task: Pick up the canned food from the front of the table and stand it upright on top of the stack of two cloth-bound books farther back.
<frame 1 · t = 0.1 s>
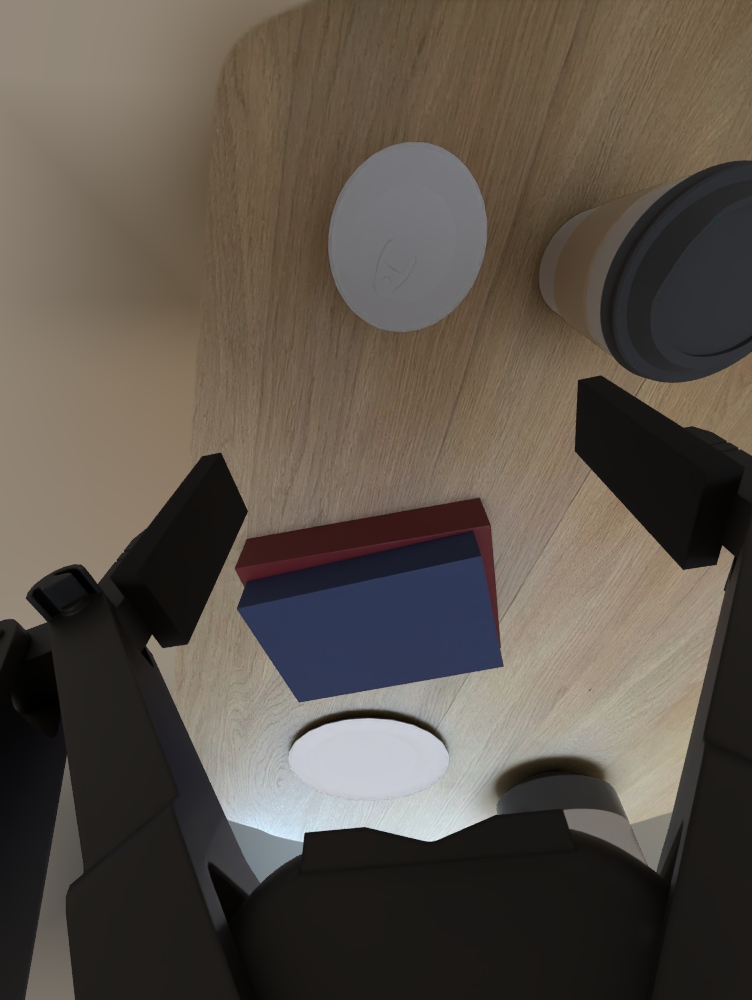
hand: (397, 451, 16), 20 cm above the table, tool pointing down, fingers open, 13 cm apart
book stack: (377, 580, 47), on the table
plate: (368, 752, 67), on the table
planter: (548, 781, 72), on the table
coffee cup: (585, 265, 30), on the table
canned food: (397, 242, 30), on the table
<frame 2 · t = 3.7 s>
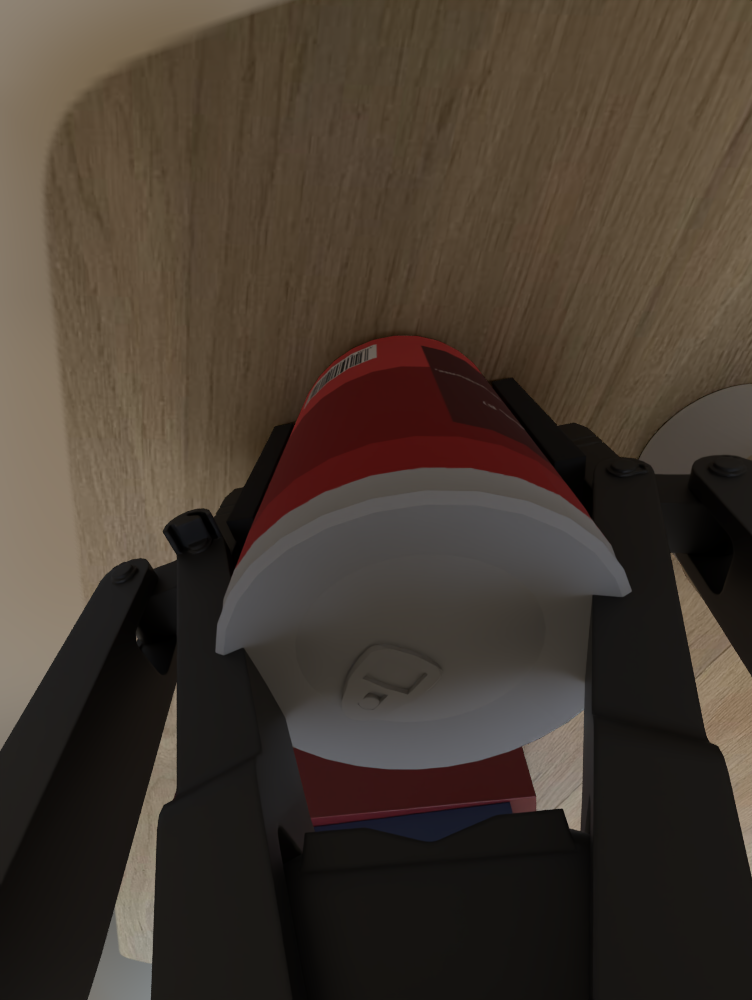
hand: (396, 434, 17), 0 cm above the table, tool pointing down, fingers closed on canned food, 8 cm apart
book stack: (369, 795, 34), on the table
coffee cup: (712, 461, 18), on the table
canned food: (395, 430, 17), on the table, touching gripper
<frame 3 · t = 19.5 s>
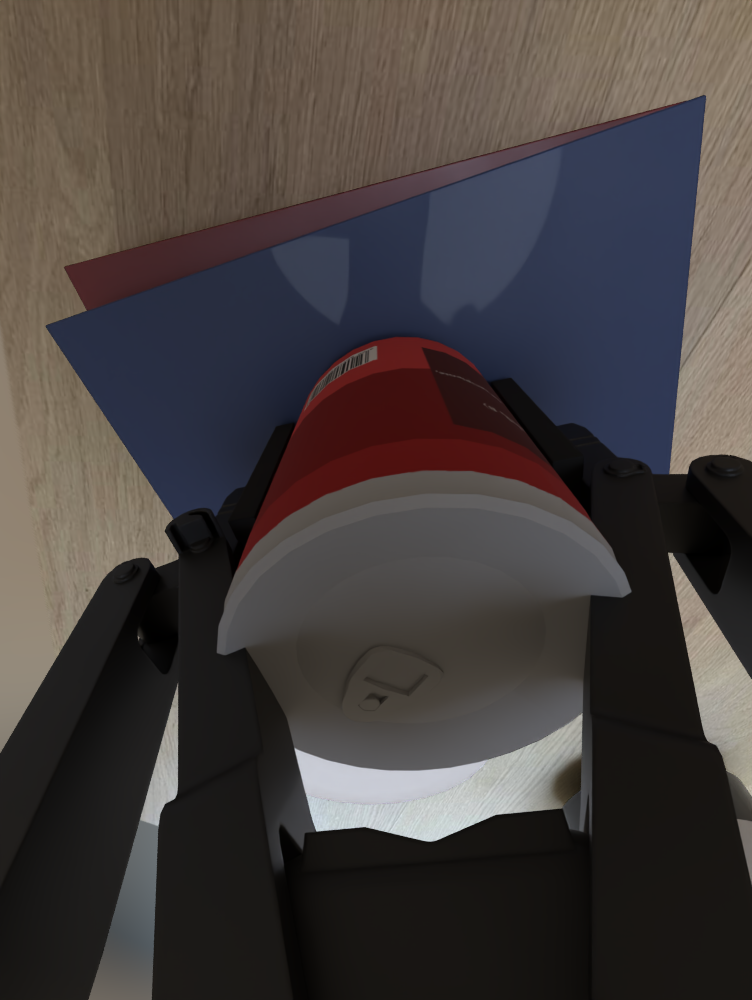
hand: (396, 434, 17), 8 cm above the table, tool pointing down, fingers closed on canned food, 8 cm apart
book stack: (389, 377, 24), on the table
plate: (371, 731, 44), on the table
planter: (633, 776, 49), on the table
canned food: (396, 431, 17), point 8 cm above the table, touching gripper
when the fingers open (10 cm above the table, at t = 21.5 s): canned food drops 2 cm, resting on book stack.
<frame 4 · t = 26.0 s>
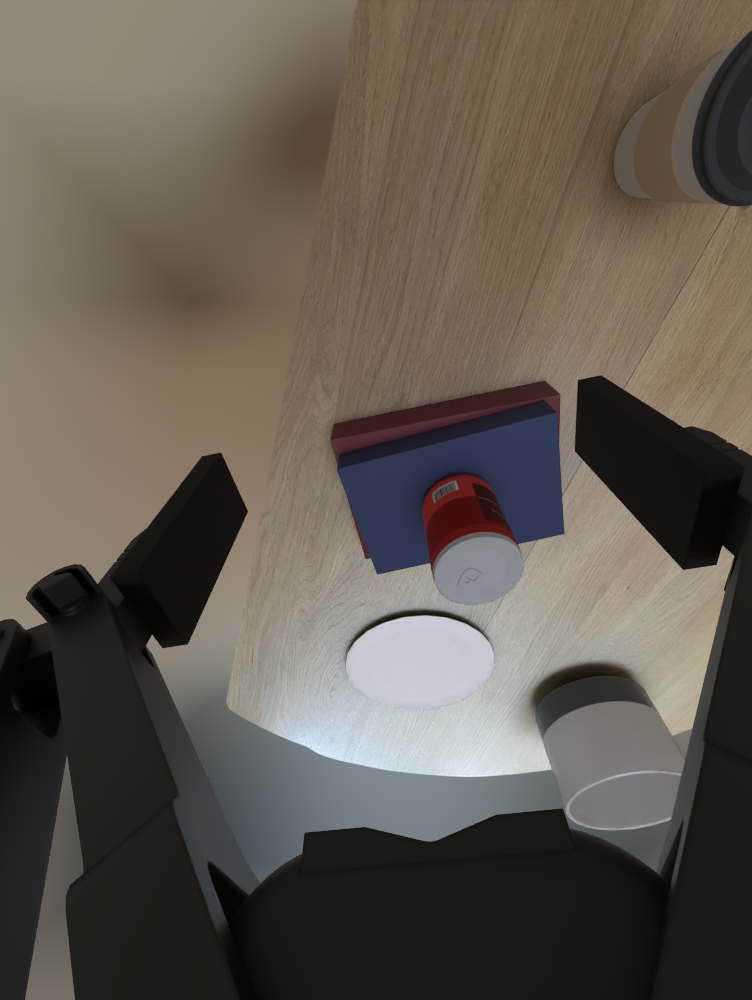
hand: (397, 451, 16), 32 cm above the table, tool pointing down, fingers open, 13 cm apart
book stack: (445, 468, 52), on the table
plate: (418, 658, 72), on the table
planter: (582, 692, 77), on the table
coffee cup: (654, 149, 36), on the table
canned food: (456, 502, 45), point 8 cm above the table, touching book stack
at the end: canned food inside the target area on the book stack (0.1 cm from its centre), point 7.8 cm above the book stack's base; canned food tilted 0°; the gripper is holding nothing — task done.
